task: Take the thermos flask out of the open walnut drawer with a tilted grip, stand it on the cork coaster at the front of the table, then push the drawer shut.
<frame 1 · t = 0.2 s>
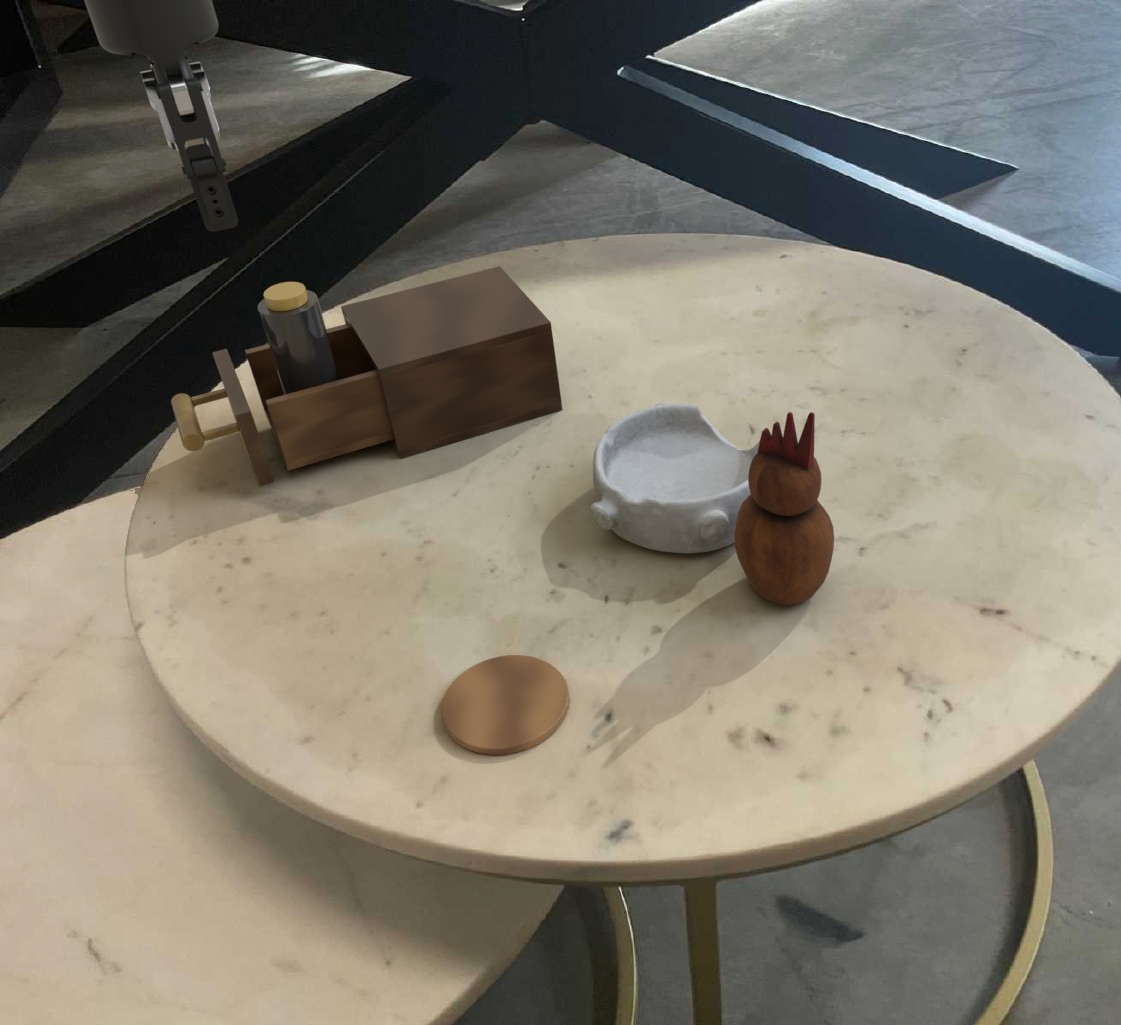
hand: (215, 208, 82), 22 cm above the table, tool pointing down, fingers open, 8 cm apart
cabinet: (460, 400, 102), on the table
wooden figurine: (784, 588, 80), on the table
thermos flask: (321, 419, 96), point 2 cm above the table, touching drawer
coaster: (506, 706, 72), on the table
drawer: (291, 402, 94), point 4 cm above the table, slide at 10.0 cm, touching thermos flask
dish: (681, 508, 88), on the table
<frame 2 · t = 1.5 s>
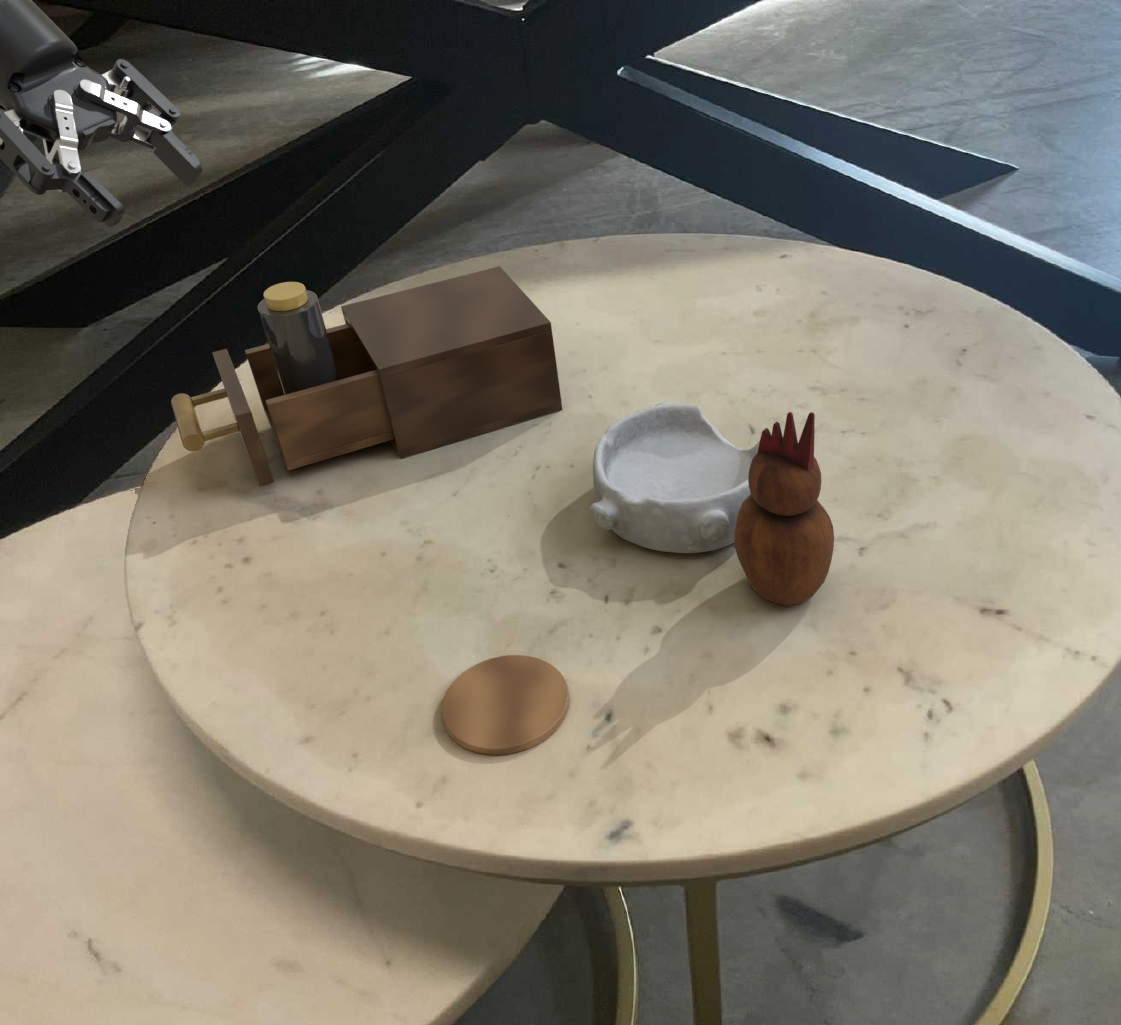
hand: (158, 198, 88), 20 cm above the table, tool tilted 45°, fingers open, 8 cm apart
nothing on the table moved.
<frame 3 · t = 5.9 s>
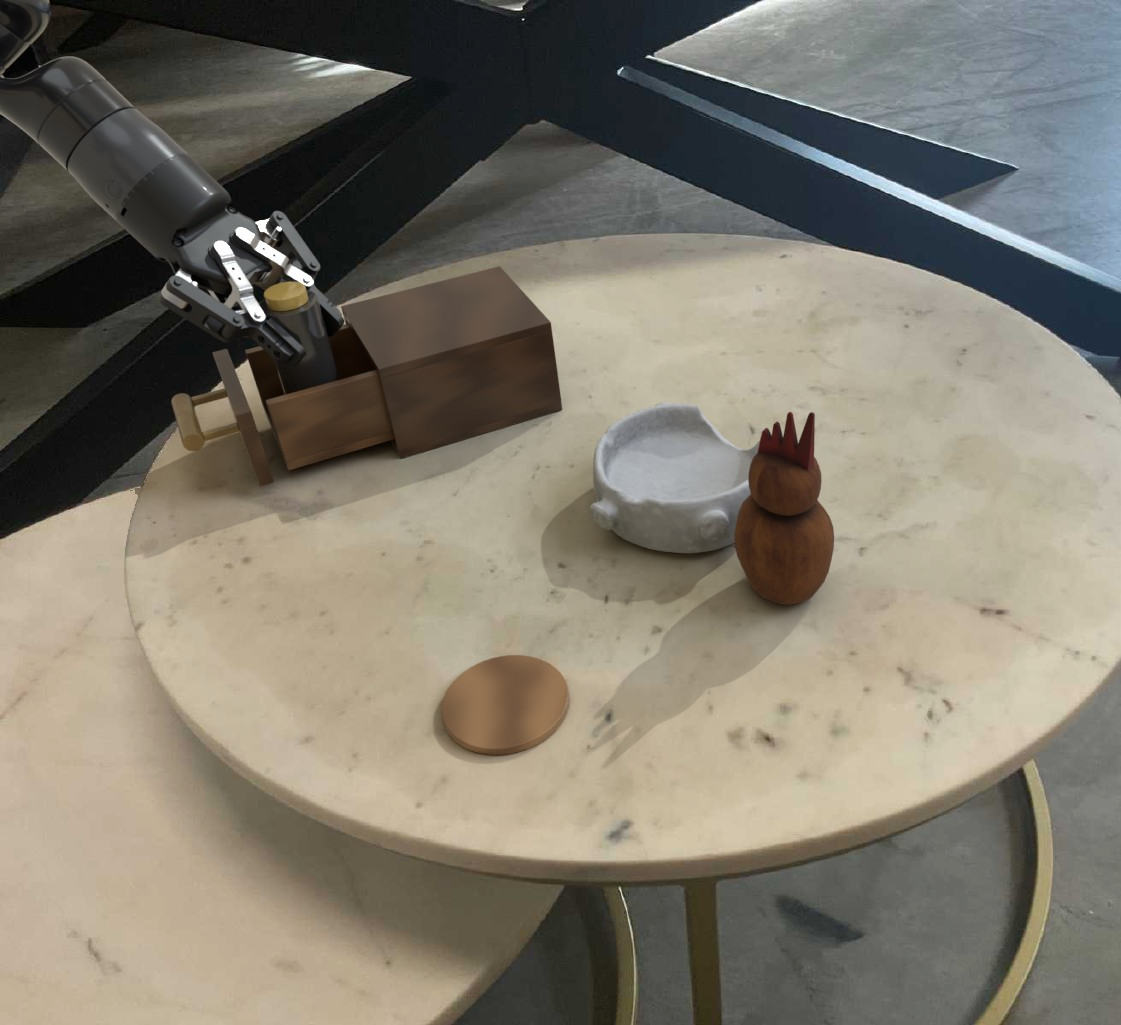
hand: (318, 344, 91), 10 cm above the table, tool tilted 45°, fingers closed on thermos flask, 4 cm apart
thermos flask: (321, 419, 96), point 2 cm above the table, touching drawer, gripper
everything else where it was.
when the fingers open (8 cm above the table, at t = 17.3 s): thermos flask stays where it is, resting on coaster.
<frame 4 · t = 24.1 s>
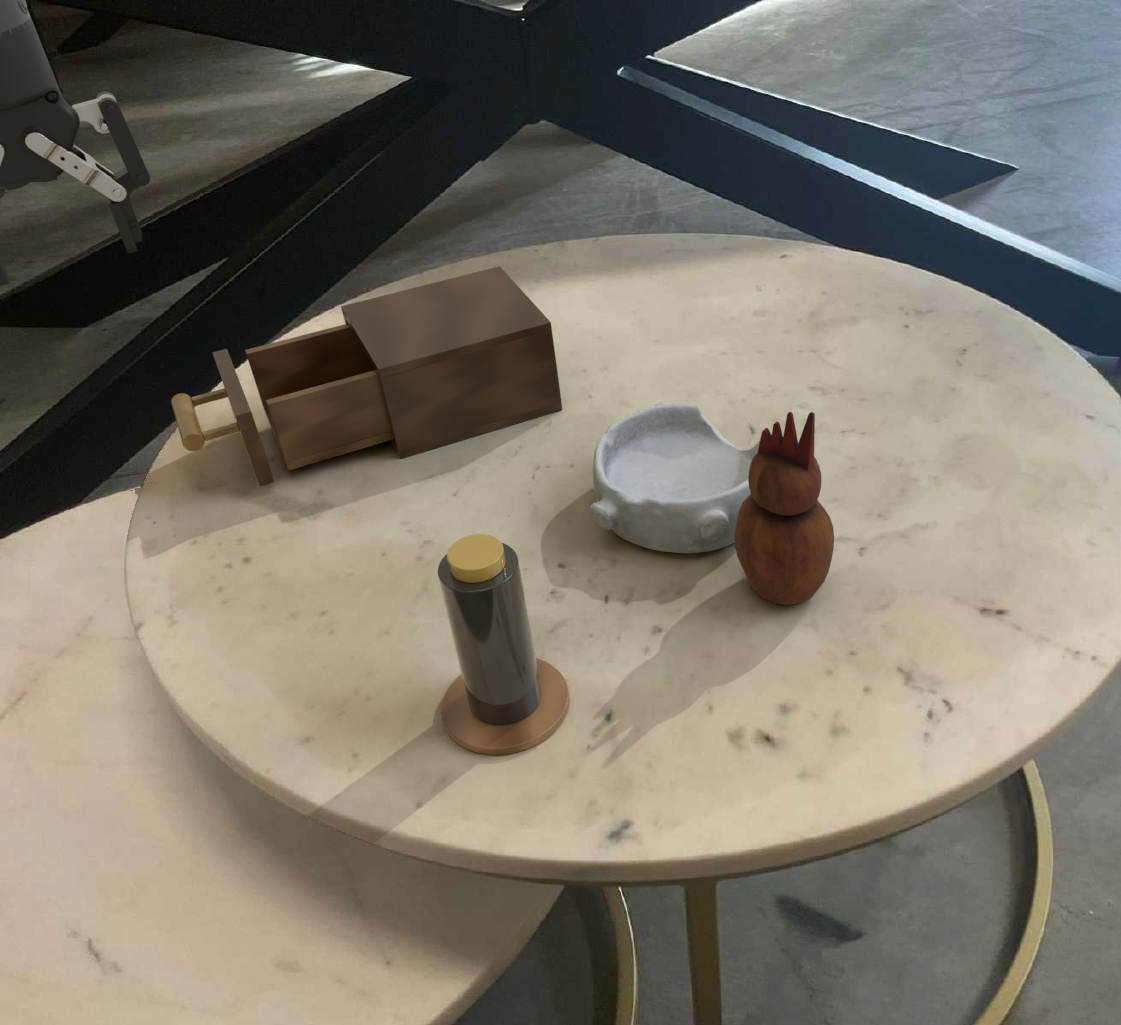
hand: (68, 265, 80), 20 cm above the table, tool pointing down, fingers open, 8 cm apart
thermos flask: (505, 698, 72), point 1 cm above the table, touching coaster
drawer: (291, 402, 94), point 4 cm above the table, slide at 10.0 cm
everything else where it was.
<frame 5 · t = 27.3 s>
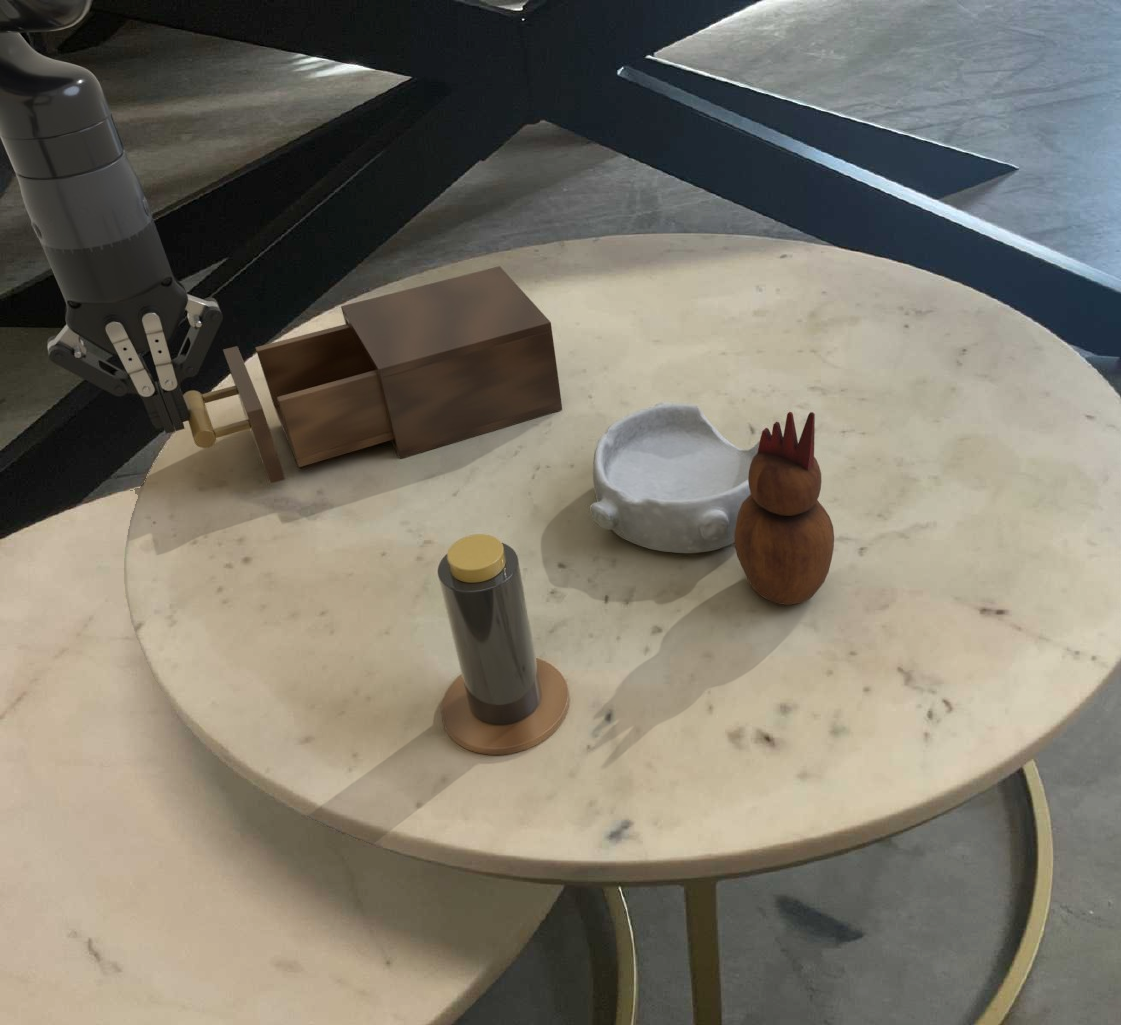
hand: (173, 426, 91), 5 cm above the table, tool pointing down, fingers closed
drawer: (302, 399, 95), point 4 cm above the table, slide at 9.1 cm
everything else where it was.
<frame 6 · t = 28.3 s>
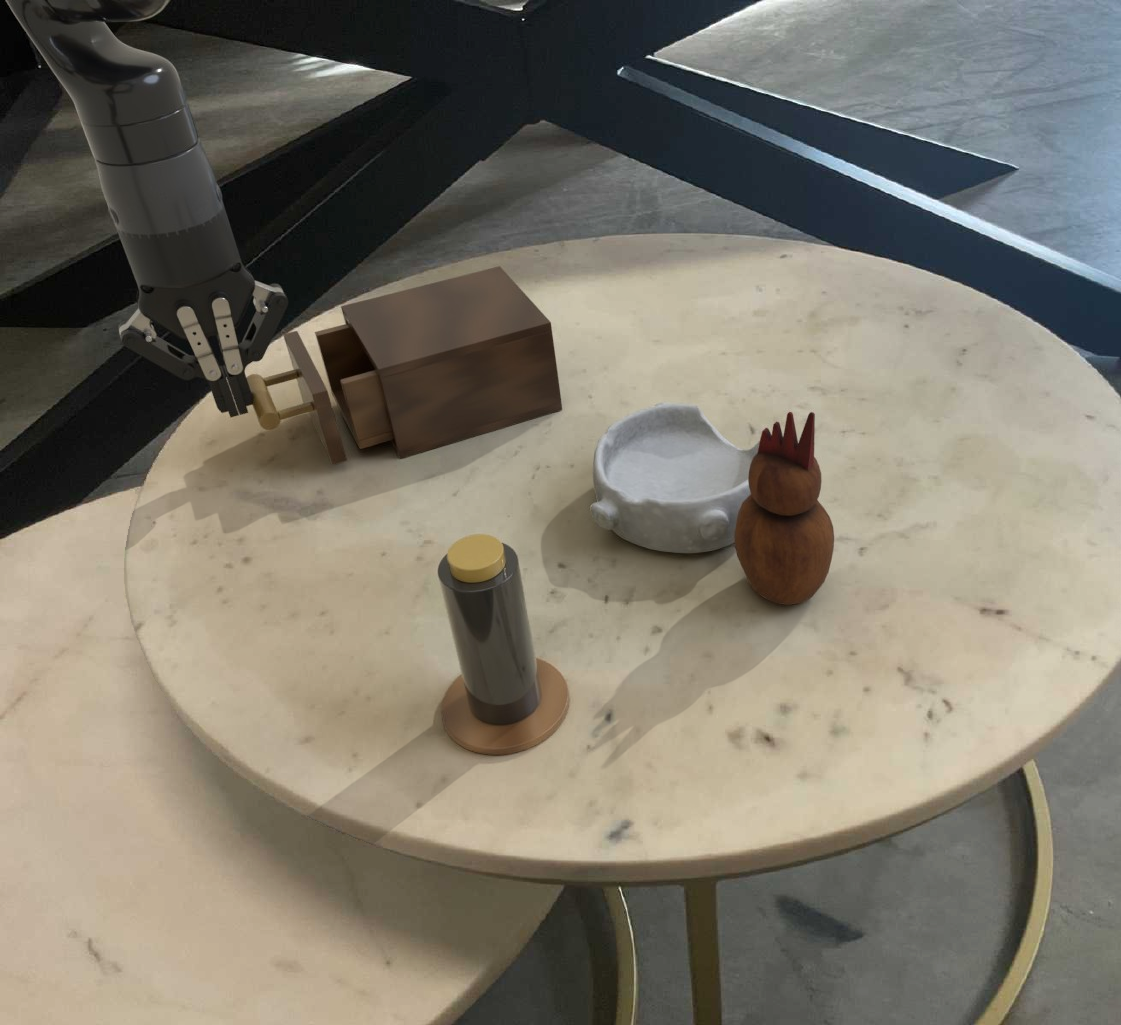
hand: (237, 410, 93), 5 cm above the table, tool pointing down, fingers closed
drawer: (361, 383, 96), point 4 cm above the table, slide at 4.1 cm, touching gripper
everything else where it was.
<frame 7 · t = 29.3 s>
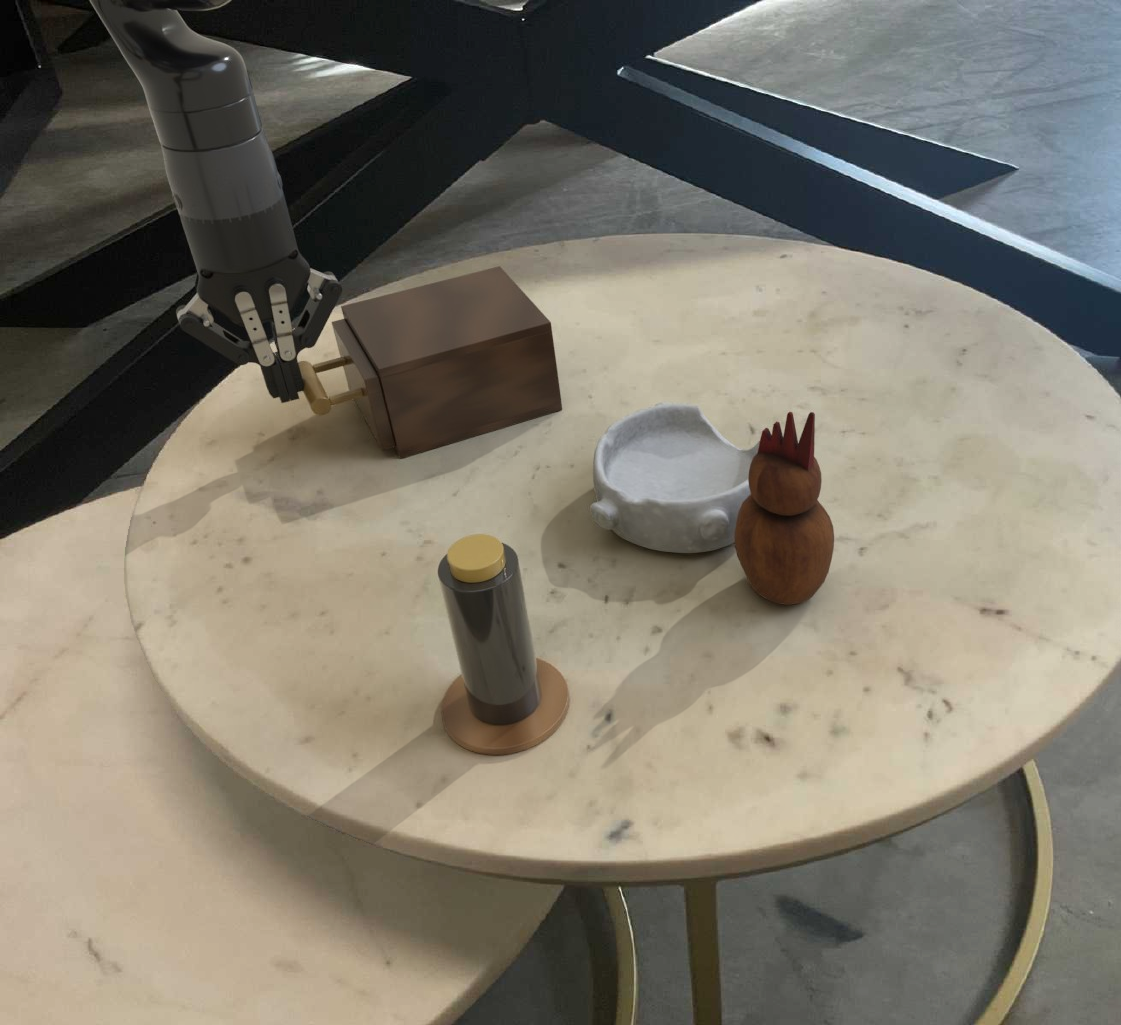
hand: (288, 396, 94), 5 cm above the table, tool pointing down, fingers closed
drawer: (408, 370, 98), point 4 cm above the table, slide at 0.0 cm, touching cabinet, gripper
everything else where it was.
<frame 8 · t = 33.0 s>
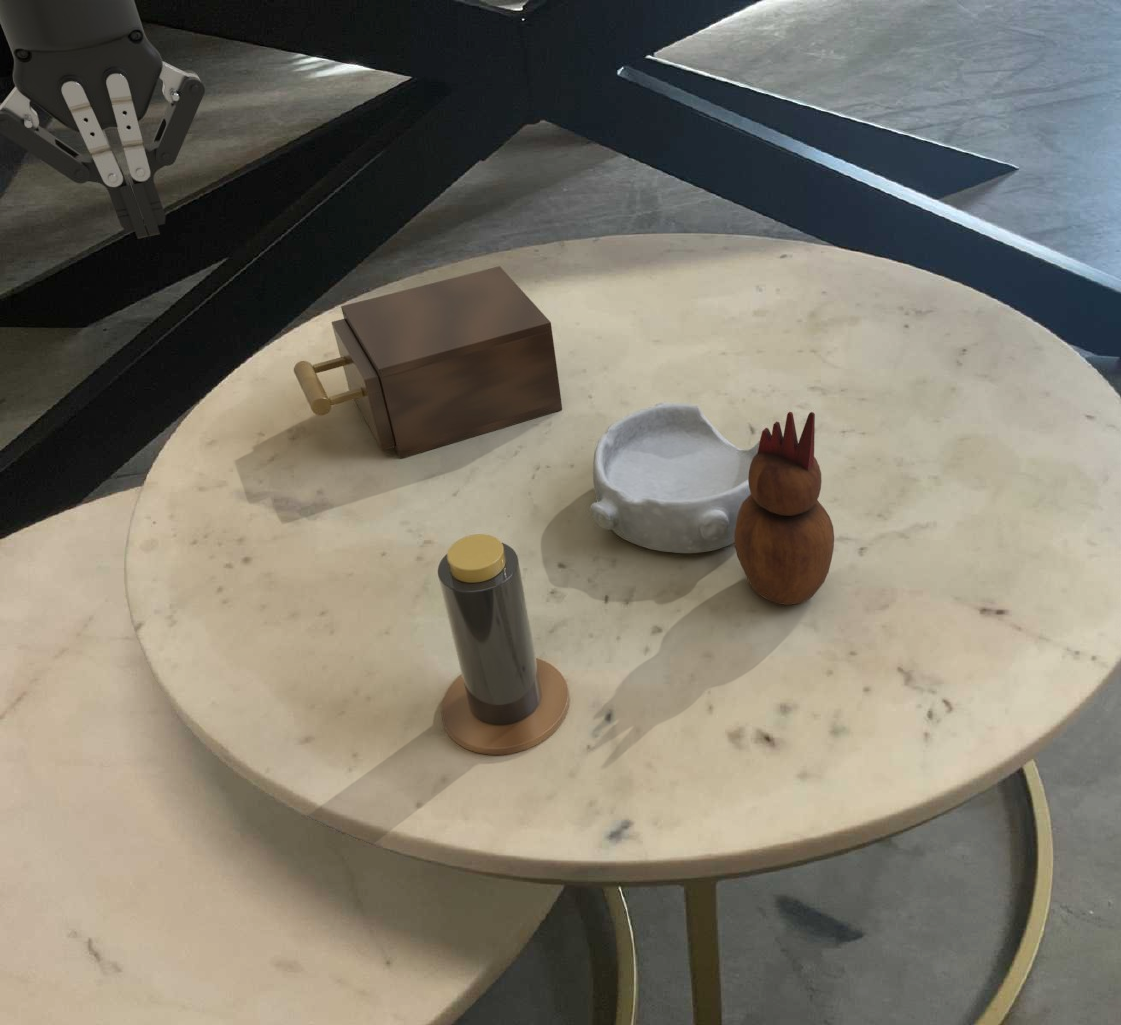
hand: (147, 232, 77), 23 cm above the table, tool pointing down, fingers closed
drawer: (408, 370, 98), point 4 cm above the table, slide at 0.0 cm
everything else where it was.
at the end: thermos flask 0.1 cm off-centre on the coaster, point 0.6 cm above the coaster's base; thermos flask tilted 0°; drawer slide at 0.0 cm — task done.
